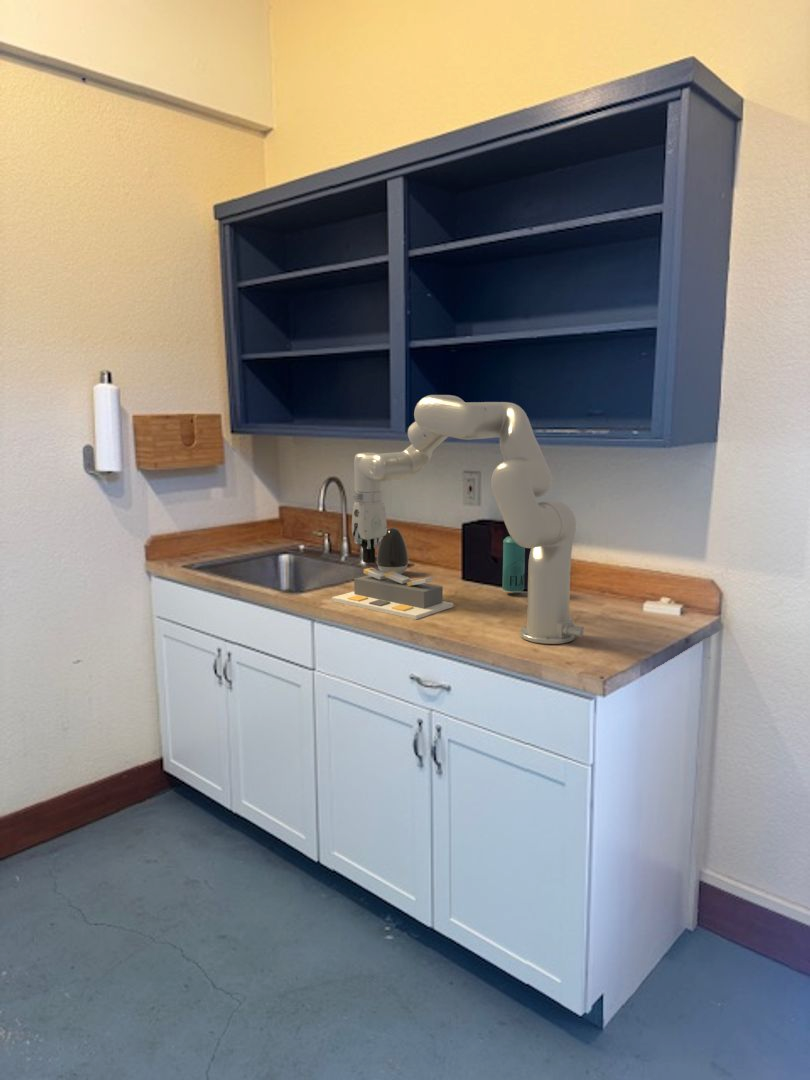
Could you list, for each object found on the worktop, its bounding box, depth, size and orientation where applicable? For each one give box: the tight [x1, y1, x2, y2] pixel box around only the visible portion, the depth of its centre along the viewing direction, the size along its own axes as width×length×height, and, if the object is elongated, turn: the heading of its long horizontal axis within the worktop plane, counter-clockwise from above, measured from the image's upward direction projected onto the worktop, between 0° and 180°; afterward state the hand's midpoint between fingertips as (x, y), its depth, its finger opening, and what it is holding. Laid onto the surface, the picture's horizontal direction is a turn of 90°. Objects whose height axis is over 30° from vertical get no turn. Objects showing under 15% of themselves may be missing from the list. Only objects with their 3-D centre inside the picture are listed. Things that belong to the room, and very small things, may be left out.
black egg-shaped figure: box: [376, 527, 409, 575], centre depth 241 cm, size 10×10×15 cm
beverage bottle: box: [501, 529, 527, 593], centre depth 215 cm, size 6×7×20 cm
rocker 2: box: [407, 576, 434, 586], centre depth 202 cm, size 6×3×1 cm, turn 50°
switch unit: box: [331, 574, 454, 620], centre depth 206 cm, size 30×16×6 cm, turn 50°
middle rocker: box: [385, 571, 411, 584], centre depth 207 cm, size 6×3×1 cm, turn 50°
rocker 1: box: [362, 567, 386, 580], centre depth 212 cm, size 6×3×1 cm, turn 50°
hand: (369, 562), depth 213 cm, fingers closed
